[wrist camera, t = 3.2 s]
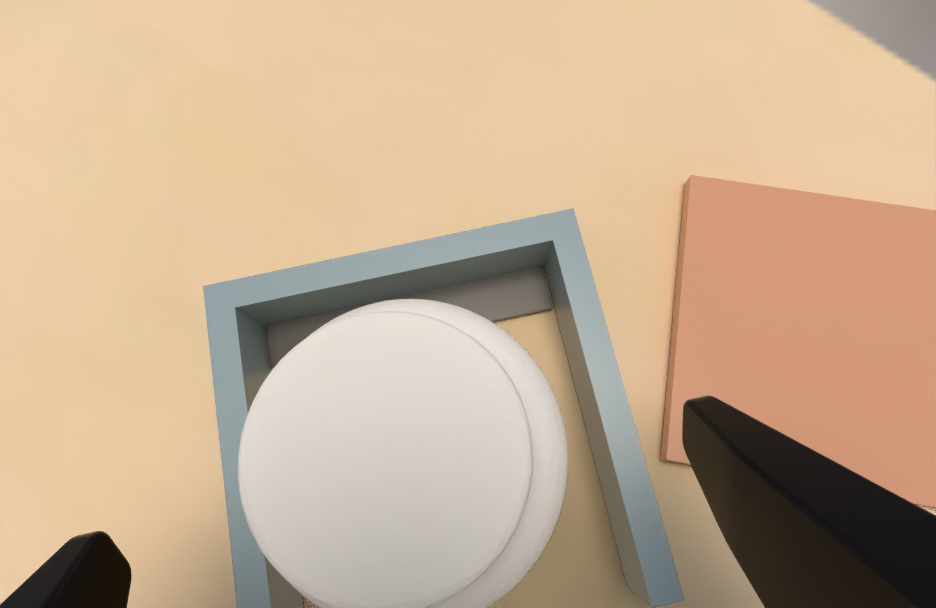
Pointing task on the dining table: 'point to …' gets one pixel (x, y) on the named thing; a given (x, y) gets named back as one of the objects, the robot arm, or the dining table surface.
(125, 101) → the dining table surface
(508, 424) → the supplement bottle
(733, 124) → the dining table surface
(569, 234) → the channel
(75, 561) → the robot arm
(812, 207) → the tile
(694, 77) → the dining table surface
